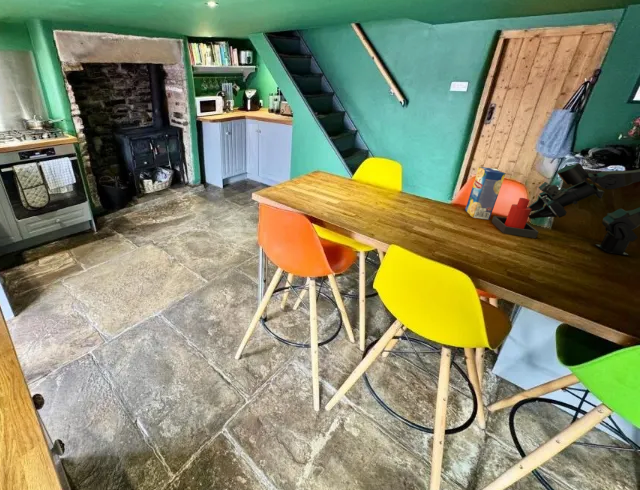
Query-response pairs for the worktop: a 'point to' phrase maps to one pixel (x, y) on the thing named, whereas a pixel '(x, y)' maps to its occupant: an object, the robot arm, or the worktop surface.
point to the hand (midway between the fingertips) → (527, 214)
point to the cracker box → (484, 192)
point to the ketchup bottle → (518, 214)
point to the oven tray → (525, 232)
